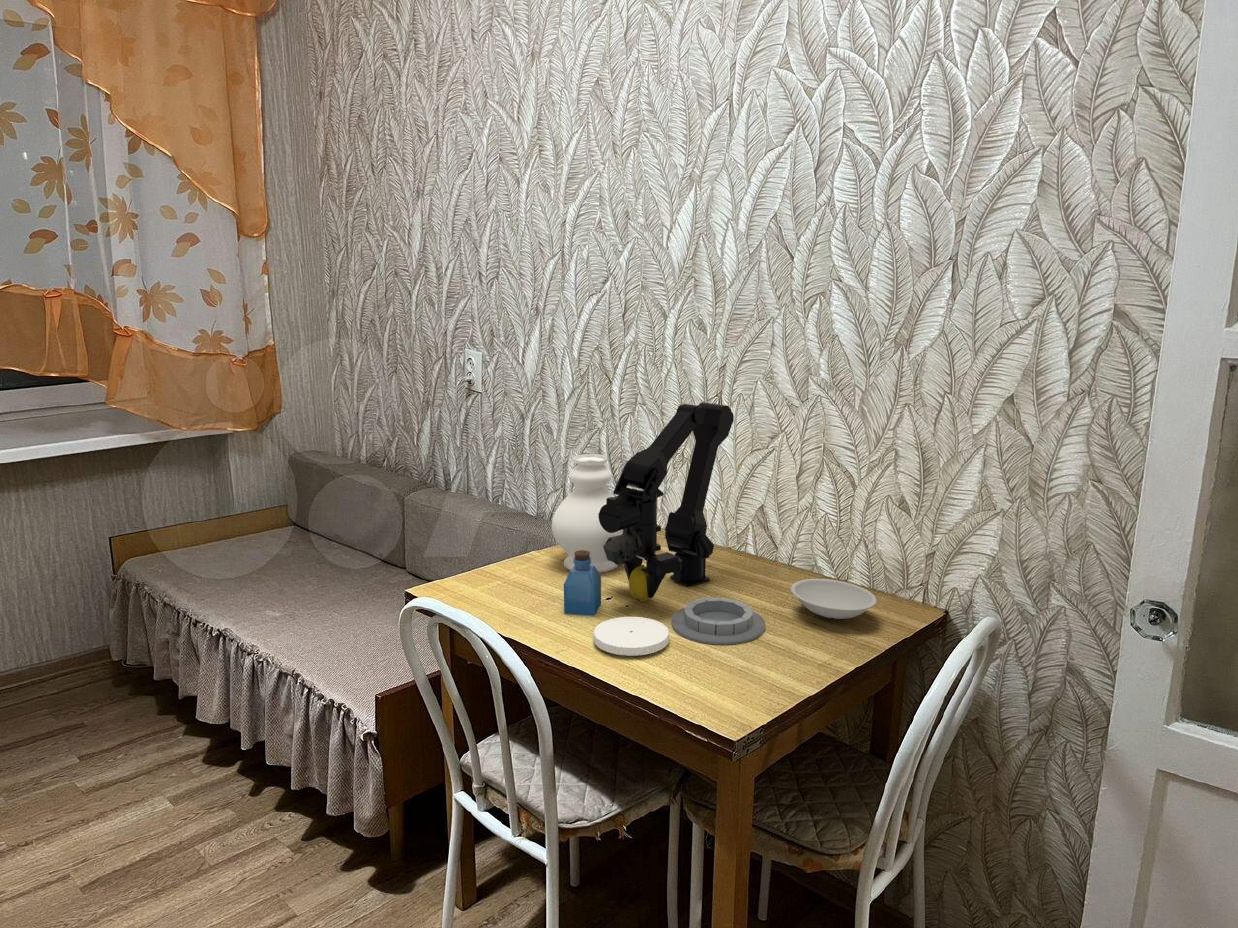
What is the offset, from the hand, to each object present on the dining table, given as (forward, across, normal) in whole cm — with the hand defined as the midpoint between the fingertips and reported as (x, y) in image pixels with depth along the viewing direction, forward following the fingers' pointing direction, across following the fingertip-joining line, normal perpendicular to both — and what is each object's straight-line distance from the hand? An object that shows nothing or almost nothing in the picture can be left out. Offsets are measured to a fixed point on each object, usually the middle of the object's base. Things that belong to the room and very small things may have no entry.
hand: (642, 593), depth 195 cm
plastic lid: (+2, +15, -13) cm, 20 cm away
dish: (+2, +28, +26) cm, 38 cm away
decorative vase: (+2, -25, +4) cm, 25 cm away
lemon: (+2, 0, 0) cm, 2 cm away
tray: (+2, +18, +5) cm, 19 cm away
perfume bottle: (+2, -4, -12) cm, 13 cm away
